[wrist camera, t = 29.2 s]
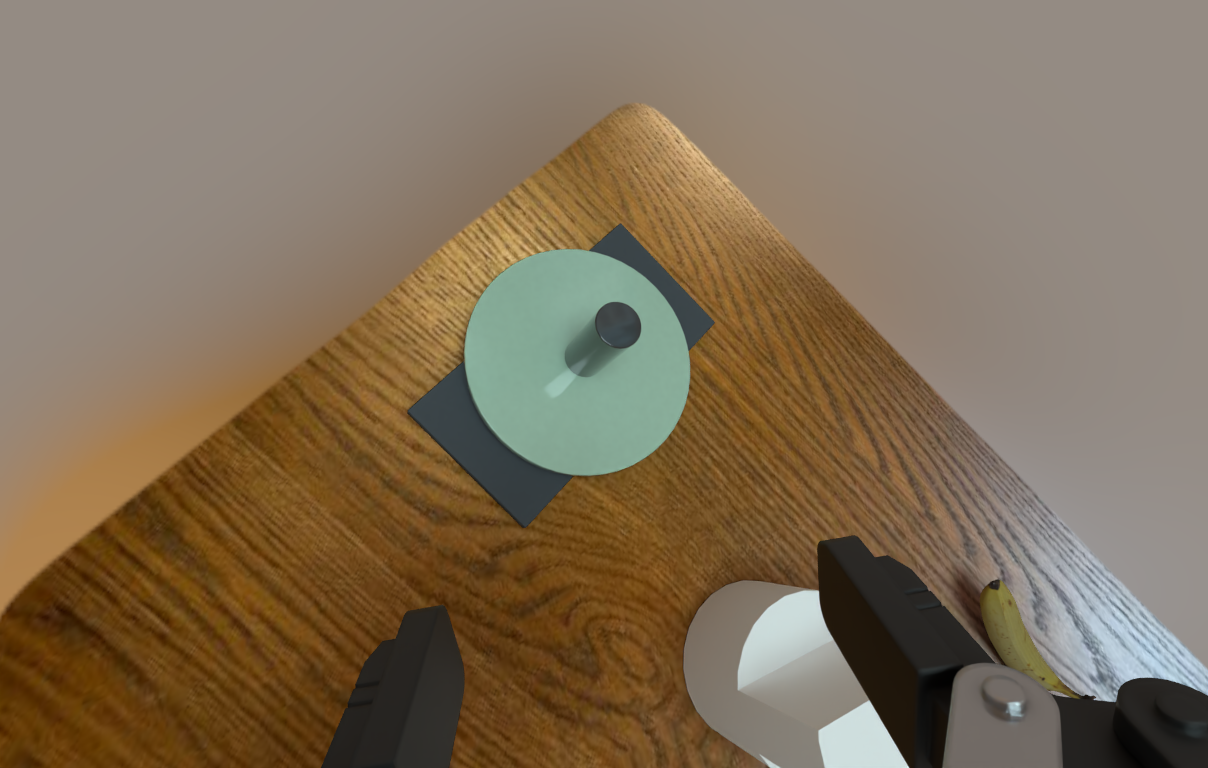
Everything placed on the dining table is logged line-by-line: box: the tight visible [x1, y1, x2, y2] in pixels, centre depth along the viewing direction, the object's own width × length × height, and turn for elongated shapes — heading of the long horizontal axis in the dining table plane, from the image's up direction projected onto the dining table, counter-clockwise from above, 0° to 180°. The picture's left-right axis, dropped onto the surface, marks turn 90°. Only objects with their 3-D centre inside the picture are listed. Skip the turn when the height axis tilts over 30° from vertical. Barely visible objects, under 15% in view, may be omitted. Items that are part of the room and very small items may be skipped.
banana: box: [980, 580, 1096, 700], centre depth 39 cm, size 10×2×4 cm, turn 41°
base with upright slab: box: [683, 580, 909, 768], centre depth 30 cm, size 9×9×12 cm
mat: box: [408, 224, 715, 528], centre depth 35 cm, size 18×9×1 cm, turn 137°
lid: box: [464, 249, 690, 476], centre depth 32 cm, size 14×14×7 cm
